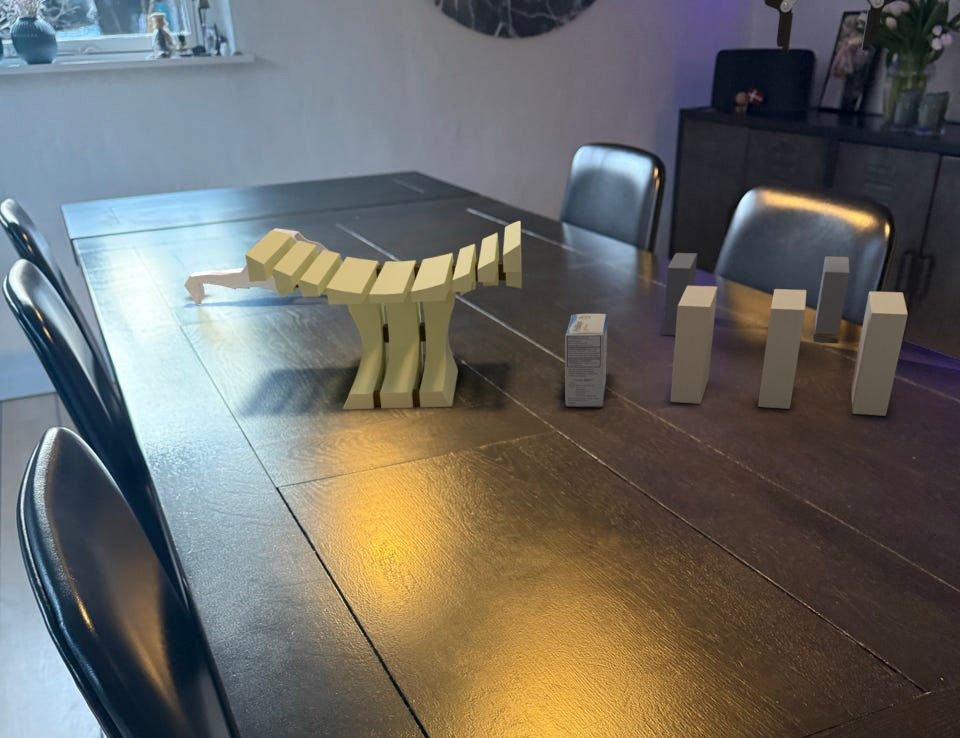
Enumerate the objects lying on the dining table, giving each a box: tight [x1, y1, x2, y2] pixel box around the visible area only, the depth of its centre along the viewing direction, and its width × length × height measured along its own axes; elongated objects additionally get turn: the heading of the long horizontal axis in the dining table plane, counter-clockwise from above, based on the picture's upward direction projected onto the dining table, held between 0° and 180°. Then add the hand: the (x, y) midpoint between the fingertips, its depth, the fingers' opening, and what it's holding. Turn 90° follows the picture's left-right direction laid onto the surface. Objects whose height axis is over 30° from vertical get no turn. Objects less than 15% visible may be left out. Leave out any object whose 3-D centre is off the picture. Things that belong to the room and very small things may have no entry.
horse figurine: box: [183, 227, 344, 306], centre depth 150 cm, size 5×16×25 cm
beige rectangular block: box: [757, 288, 807, 410], centre depth 105 cm, size 4×8×11 cm, turn 163°
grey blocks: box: [662, 252, 850, 344], centre depth 127 cm, size 23×8×9 cm, turn 73°
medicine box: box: [564, 313, 608, 408], centre depth 108 cm, size 8×4×9 cm, turn 171°
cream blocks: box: [670, 285, 909, 417], centre depth 105 cm, size 24×8×11 cm, turn 73°
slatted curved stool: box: [244, 220, 523, 410], centre depth 112 cm, size 30×16×18 cm, turn 88°
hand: (824, 51), depth 104 cm, fingers open, 8 cm apart
